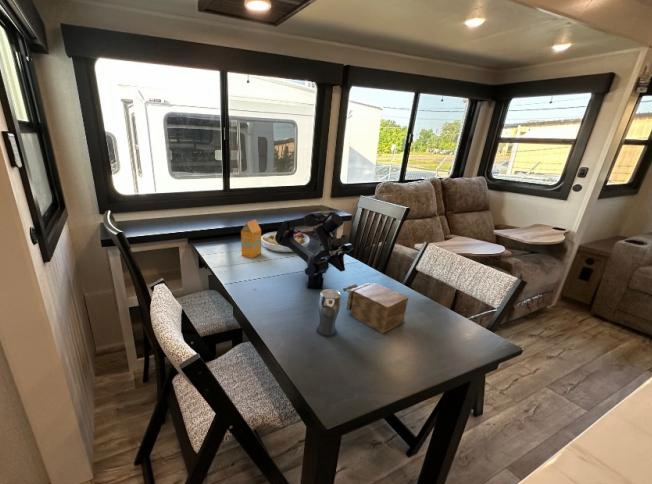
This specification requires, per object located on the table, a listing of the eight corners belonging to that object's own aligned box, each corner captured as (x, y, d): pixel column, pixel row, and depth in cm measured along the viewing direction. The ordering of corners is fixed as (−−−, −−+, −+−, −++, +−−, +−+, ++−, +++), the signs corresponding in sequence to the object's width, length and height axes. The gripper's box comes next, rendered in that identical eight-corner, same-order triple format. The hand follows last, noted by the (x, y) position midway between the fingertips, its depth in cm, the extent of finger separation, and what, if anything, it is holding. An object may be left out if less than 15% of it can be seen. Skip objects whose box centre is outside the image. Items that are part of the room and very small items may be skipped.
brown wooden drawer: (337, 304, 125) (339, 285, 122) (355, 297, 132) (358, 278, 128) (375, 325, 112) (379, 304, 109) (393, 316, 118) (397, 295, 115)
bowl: (294, 257, 175) (295, 244, 172) (251, 247, 190) (251, 235, 187) (316, 243, 199) (317, 232, 196) (276, 235, 213) (277, 224, 210)
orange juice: (261, 253, 180) (261, 220, 172) (252, 258, 173) (252, 223, 166) (250, 251, 184) (250, 217, 176) (241, 255, 177) (240, 221, 169)
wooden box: (350, 315, 120) (353, 290, 116) (370, 306, 127) (374, 282, 123) (382, 333, 109) (387, 307, 105) (403, 322, 116) (408, 297, 112)
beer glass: (337, 327, 112) (342, 290, 106) (334, 338, 106) (339, 300, 100) (318, 323, 114) (322, 287, 108) (314, 334, 108) (318, 296, 102)
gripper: (320, 231, 119) (339, 267, 115) (352, 224, 129) (371, 257, 125) (305, 245, 128) (322, 279, 124) (336, 238, 138) (353, 269, 134)
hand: (343, 270), depth 127 cm, fingers closed
